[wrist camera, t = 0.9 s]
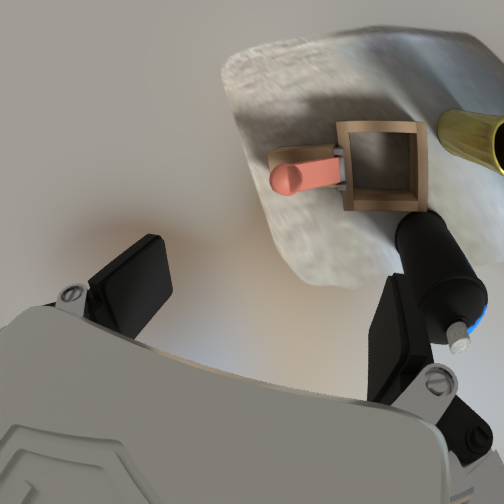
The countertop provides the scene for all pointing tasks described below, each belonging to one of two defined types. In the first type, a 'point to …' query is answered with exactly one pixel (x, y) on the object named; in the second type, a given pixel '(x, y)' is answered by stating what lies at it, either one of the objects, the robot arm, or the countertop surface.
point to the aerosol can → (440, 279)
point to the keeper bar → (307, 175)
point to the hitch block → (351, 197)
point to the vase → (474, 137)
